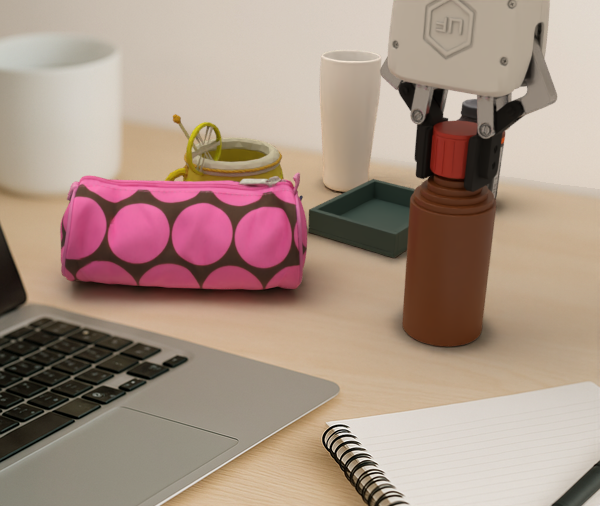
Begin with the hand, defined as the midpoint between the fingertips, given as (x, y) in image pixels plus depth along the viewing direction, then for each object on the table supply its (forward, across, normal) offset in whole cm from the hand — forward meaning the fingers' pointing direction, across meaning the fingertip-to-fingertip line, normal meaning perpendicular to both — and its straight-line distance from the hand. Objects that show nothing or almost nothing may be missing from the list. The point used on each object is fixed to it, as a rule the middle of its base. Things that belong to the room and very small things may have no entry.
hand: (454, 177), depth 61 cm
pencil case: (+13, -22, -7) cm, 26 cm away
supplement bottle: (+13, -12, +27) cm, 33 cm away
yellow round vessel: (+13, -28, +4) cm, 31 cm away
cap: (-1, 0, 0) cm, 1 cm away
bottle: (+13, 0, 0) cm, 13 cm away
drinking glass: (+13, -26, +22) cm, 37 cm away
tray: (+13, -16, +15) cm, 25 cm away
